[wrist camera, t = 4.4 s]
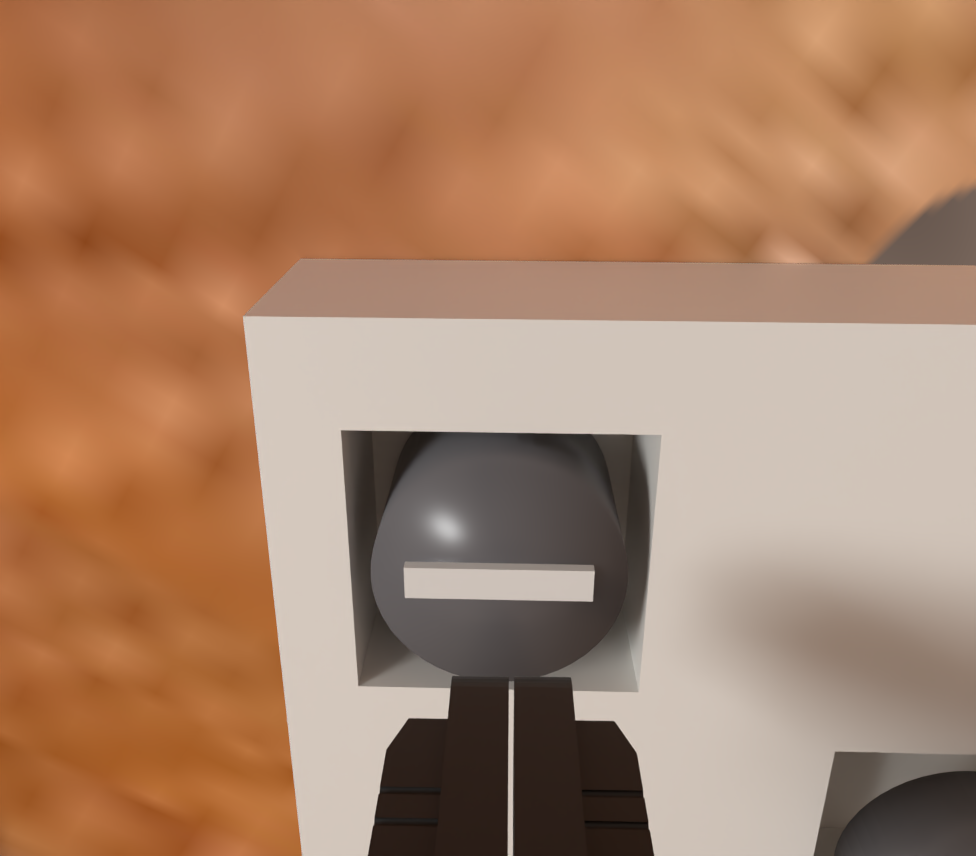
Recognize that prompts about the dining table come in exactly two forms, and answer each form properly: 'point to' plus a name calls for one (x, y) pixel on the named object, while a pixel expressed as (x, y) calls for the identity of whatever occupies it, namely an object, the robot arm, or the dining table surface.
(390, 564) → the knob
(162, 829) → the dining table surface
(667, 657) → the knob mount
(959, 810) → the knob
